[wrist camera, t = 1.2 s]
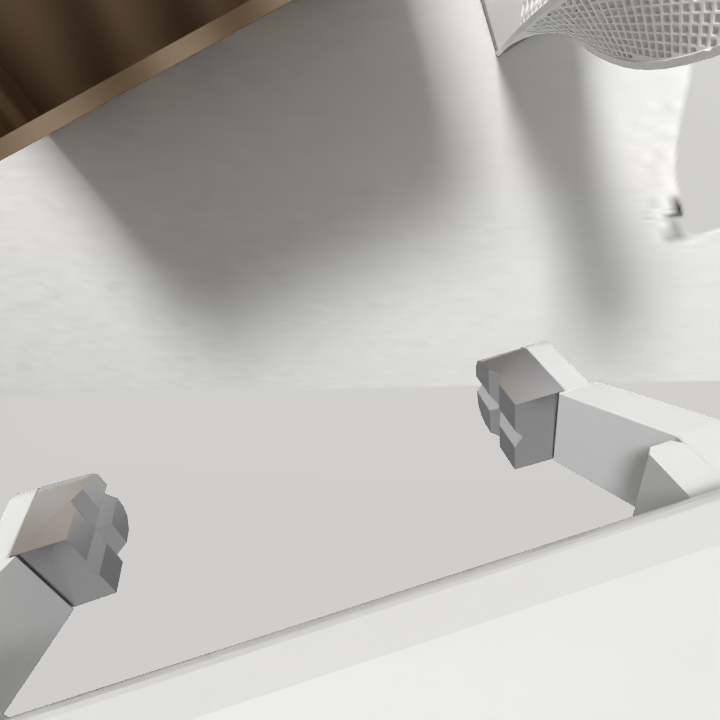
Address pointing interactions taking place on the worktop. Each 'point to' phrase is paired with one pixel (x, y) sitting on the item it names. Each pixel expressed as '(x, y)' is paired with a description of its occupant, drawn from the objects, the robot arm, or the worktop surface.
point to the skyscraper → (614, 28)
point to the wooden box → (97, 53)
